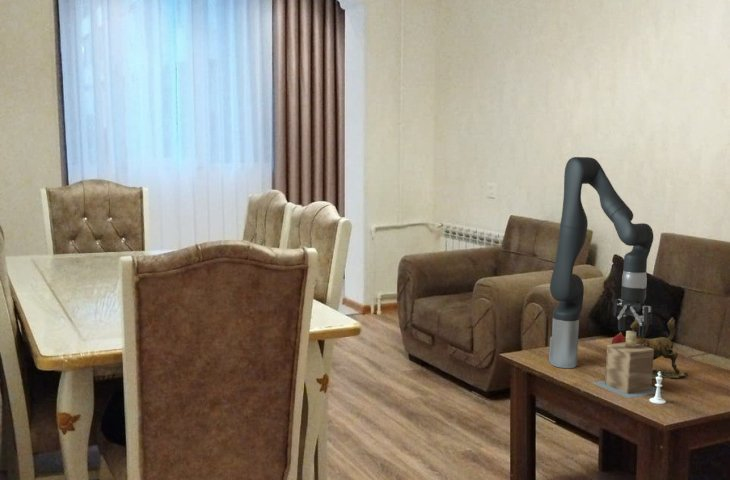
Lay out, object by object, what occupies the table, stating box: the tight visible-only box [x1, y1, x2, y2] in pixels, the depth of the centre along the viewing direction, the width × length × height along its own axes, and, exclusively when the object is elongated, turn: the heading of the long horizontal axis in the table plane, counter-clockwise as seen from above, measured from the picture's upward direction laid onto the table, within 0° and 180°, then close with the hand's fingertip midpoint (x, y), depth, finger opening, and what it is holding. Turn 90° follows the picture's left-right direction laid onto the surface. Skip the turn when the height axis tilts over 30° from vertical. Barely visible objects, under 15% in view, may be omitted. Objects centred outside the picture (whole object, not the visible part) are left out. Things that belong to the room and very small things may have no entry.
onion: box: [611, 331, 626, 344], centre depth 287 cm, size 6×6×8 cm
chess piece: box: [648, 371, 667, 405], centre depth 231 cm, size 5×5×10 cm
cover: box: [604, 330, 654, 394], centre depth 244 cm, size 10×10×19 cm
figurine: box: [630, 317, 689, 381], centre depth 257 cm, size 13×25×20 cm, turn 96°
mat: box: [592, 380, 665, 399], centre depth 245 cm, size 16×16×1 cm
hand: (631, 333), depth 243 cm, fingers open, 8 cm apart
